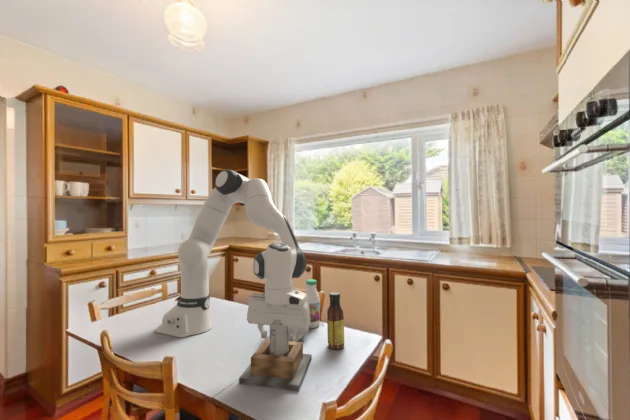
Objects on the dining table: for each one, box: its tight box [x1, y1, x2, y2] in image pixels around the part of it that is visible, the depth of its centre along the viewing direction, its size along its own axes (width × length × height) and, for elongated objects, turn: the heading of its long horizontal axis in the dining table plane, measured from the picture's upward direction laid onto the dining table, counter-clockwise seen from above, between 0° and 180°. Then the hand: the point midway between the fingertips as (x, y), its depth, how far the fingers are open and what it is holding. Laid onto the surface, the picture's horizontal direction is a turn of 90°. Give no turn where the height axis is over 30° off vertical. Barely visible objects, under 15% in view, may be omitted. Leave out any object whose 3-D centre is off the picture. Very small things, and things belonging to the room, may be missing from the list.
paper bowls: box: [289, 327, 309, 342], centre depth 115 cm, size 15×15×8 cm
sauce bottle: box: [326, 291, 345, 350], centre depth 108 cm, size 6×6×20 cm
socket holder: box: [238, 338, 313, 392], centre depth 91 cm, size 18×18×6 cm
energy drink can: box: [269, 320, 289, 357], centre depth 91 cm, size 6×6×15 cm
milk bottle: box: [304, 278, 321, 329], centre depth 128 cm, size 8×8×20 cm
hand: (278, 338), depth 91 cm, fingers open, 8 cm apart
